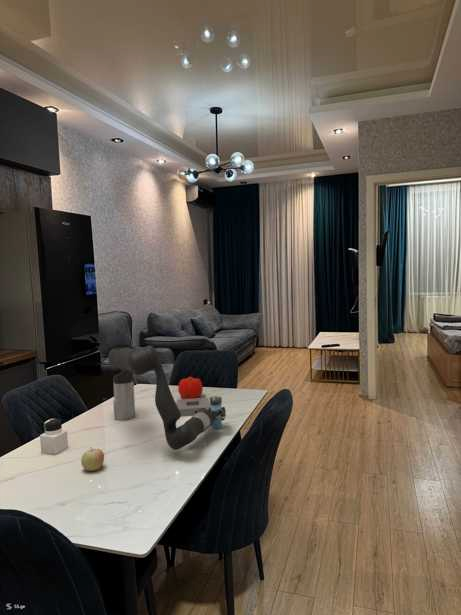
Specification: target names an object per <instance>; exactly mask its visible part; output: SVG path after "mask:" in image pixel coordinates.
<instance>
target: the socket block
mask: <svg viewBox="0 0 461 615" xmlns="http://www.w3.org/2000/svg"><path fill="white" fill-rule="evenodd" d="M175 403H176V404H177V407H178V409H179V411H180V413H181V417H192V416H194V415H195V411H196V410H199V409H201V408H205V409H206V408H209V407H211V405H210V398H209V397H197V398H194V399H184V398H180V399H176V402H175Z"/></svg>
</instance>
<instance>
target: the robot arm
mask: <svg viewBox="0 0 461 615" xmlns="http://www.w3.org/2000/svg"><path fill="white" fill-rule="evenodd" d="M107 359H108V364H109V365H110V367H111V369H112V368H113V369H121V370H122V371H121V372H120V373H117V374H115V375H113V377H112V378H113V379H112V381H113V397H114V398H113V413H114V414H113V416H114V417H113V418H114V420H115V421H116V420H117V421H128V420H132V419H134V418H135V417H136V404H135V401H136V400H135V385H134V381H135V380H134V375H135V376H142V375H144V374H147V373H149V372H151V371H153V372H154V374H155V378H156V387H155V395H154V403H155V407H156V410H157V412H158V414H159V417H160V418H161V420H162V424H163V429H164V430H163V431H164V434H165V440H166V443H167V444H168V446H169V448H171V449H172V450H175V451H176V450H180V449H182V448H184V447H185V446H188V445H190V444H191V443H193V442H195V440H196V439H197V438H198V436H199V435H201V434H202V433H204V432H206V431H207V430H208V429H209V428H211V426H212V425H213V423H214V421H215V420H217V419H221V420H222V422H223V421H224V420H225V419H226V416H227V415H226V414H227V413H226V411H227V410H226V407H225V406H221V409H220V410H214V411H211V406H210V407H209V408H206V409H205V408H201V409H199V410H196V411H195V415H194V416H190V418H189V419H188V420H186V421H185V422H184V423H183V424H181V425H180V426H177V422H178V421H179V420H180V418H181V417H182V416H181V413H180V411H179V409H178V407H177V404H176V403H177V402H176V401H175V398H174V396H173V394H172V392H171V389H170V385H169V383H168V379H167V376H166V373H165V370H164V367H163V365H162V362H161V359H160V356H159V354H158V352H157V351H156V349H155V348H154V346H153V345H147V346H144V347H141V348H139V349H135V348H131V347H129V346H127V347H117V348H113V349H111V350H110V351H109V353H108V358H107ZM219 412H220V414H219Z"/></svg>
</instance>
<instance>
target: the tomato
mask: <svg viewBox="0 0 461 615" xmlns="http://www.w3.org/2000/svg"><path fill="white" fill-rule="evenodd" d="M177 388H178V389H177V390H178V391H177V392H178V394H179V395H180V397H181V398H182V399H194V398H200V396H201V395H202V394H203V389H204V388H203V383H202V380H201V379H200V378H197V377H196V378H194V377H192V376H189V377H187V378H182V379H180V380H179V382H178V387H177Z"/></svg>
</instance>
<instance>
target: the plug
mask: <svg viewBox="0 0 461 615" xmlns="http://www.w3.org/2000/svg"><path fill="white" fill-rule="evenodd" d="M222 402H223V399H222V396H219V395H217V396H215V395H212V396H210V397H209V405H210V407H211V411H214V410H220V409H221V408H222V404H223V403H222ZM219 414H220V412H219ZM210 428H211V429H212V430H221V429H222V428H223V421H222V420H221V419H217V420H215V421H214V423H213V425H212V426H210Z"/></svg>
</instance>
